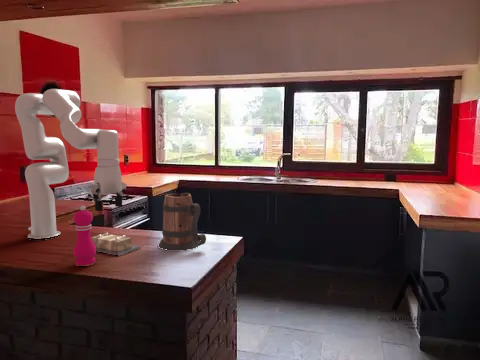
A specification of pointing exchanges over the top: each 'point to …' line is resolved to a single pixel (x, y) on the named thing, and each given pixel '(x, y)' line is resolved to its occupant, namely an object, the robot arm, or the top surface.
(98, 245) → the tan rectangular block
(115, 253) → the chassis
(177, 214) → the tankard
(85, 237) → the pepper mill
